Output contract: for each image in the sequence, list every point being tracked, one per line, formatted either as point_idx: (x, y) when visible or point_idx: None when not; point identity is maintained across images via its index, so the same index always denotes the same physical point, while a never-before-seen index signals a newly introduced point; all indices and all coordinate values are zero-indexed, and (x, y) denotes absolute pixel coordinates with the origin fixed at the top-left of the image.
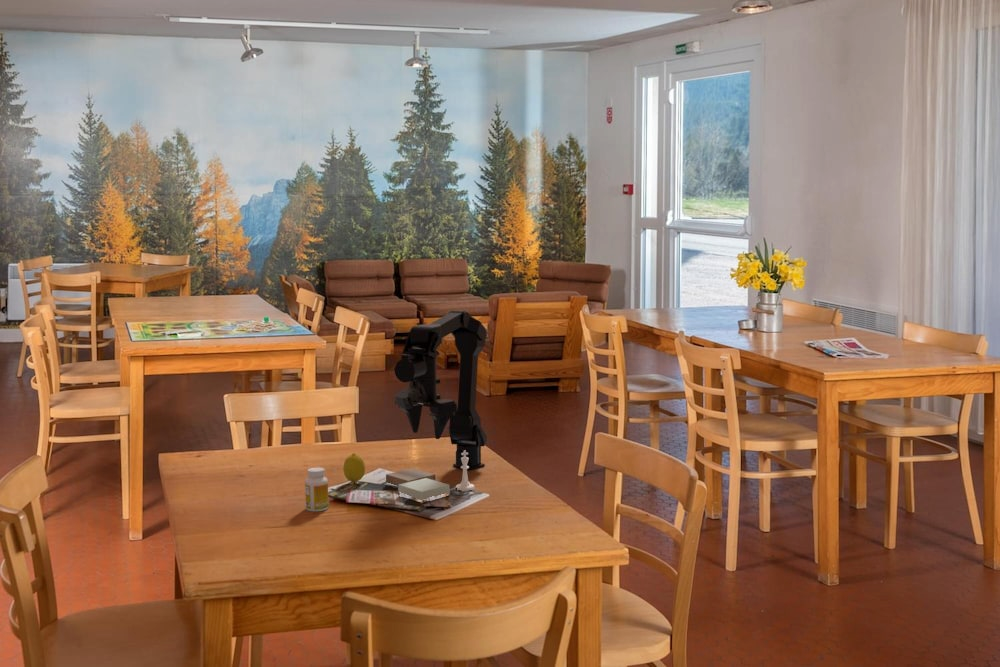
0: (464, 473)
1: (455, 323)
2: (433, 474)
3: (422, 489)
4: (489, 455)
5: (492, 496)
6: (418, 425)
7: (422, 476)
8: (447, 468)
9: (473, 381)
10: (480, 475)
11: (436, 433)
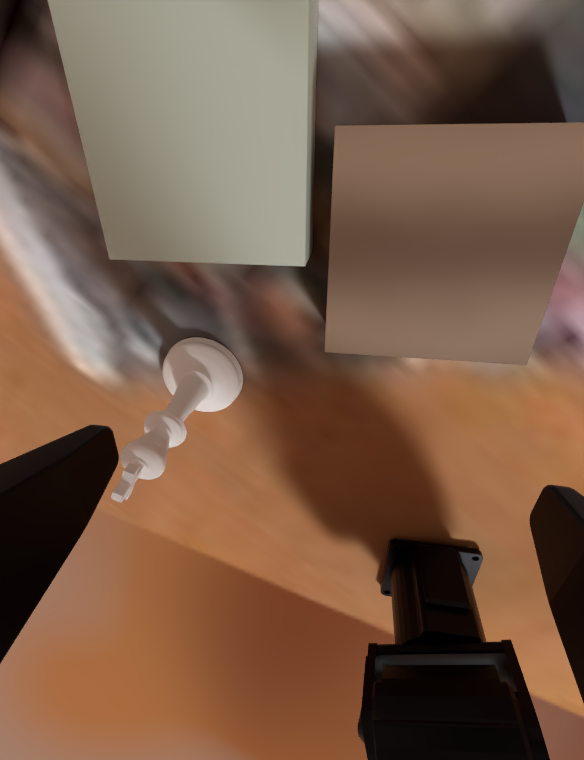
0: (169, 404)
1: None
2: (330, 344)
3: (93, 41)
4: None
5: (58, 364)
6: (560, 619)
7: (345, 275)
8: (479, 523)
9: None
10: (310, 516)
11: (19, 458)
